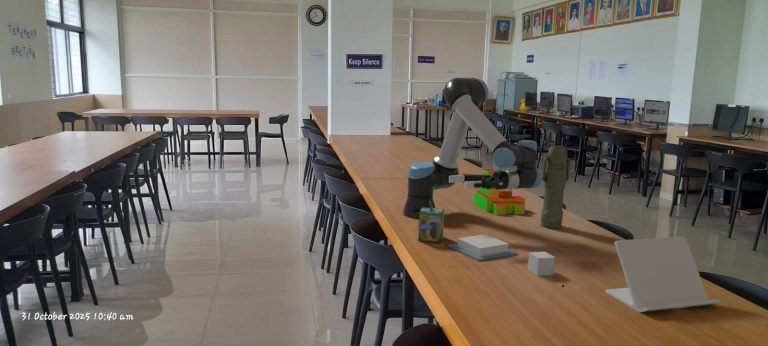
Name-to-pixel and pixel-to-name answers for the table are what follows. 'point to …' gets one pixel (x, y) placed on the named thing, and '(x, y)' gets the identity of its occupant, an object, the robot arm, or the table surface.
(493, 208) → the building blocks toy
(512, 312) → the table surface
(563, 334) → the table surface
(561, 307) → the table surface
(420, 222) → the chalk box
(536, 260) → the white cube
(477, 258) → the board
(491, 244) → the base block
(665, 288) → the tablet stand
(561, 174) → the dark piece
